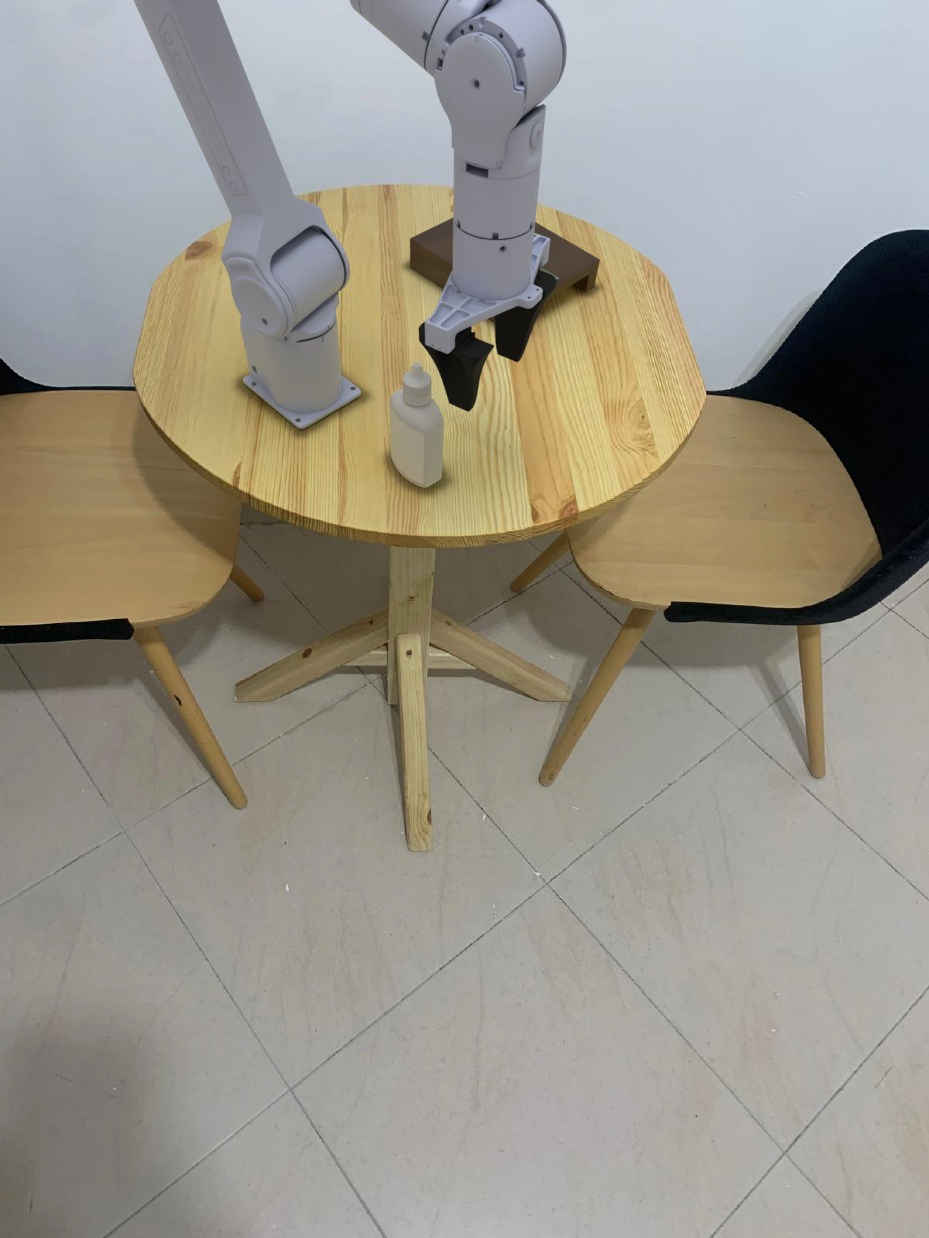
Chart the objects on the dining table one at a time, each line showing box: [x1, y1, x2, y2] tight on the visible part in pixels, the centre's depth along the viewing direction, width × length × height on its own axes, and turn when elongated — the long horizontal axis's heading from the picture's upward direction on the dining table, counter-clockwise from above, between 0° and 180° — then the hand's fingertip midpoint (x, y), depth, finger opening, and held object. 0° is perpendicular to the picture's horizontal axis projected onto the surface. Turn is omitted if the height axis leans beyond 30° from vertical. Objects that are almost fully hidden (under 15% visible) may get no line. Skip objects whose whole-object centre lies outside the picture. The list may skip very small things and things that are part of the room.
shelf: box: [409, 217, 601, 323], centre depth 90 cm, size 17×14×4 cm
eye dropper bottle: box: [389, 361, 445, 488], centre depth 68 cm, size 4×6×12 cm
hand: (485, 380), depth 65 cm, fingers open, 7 cm apart
